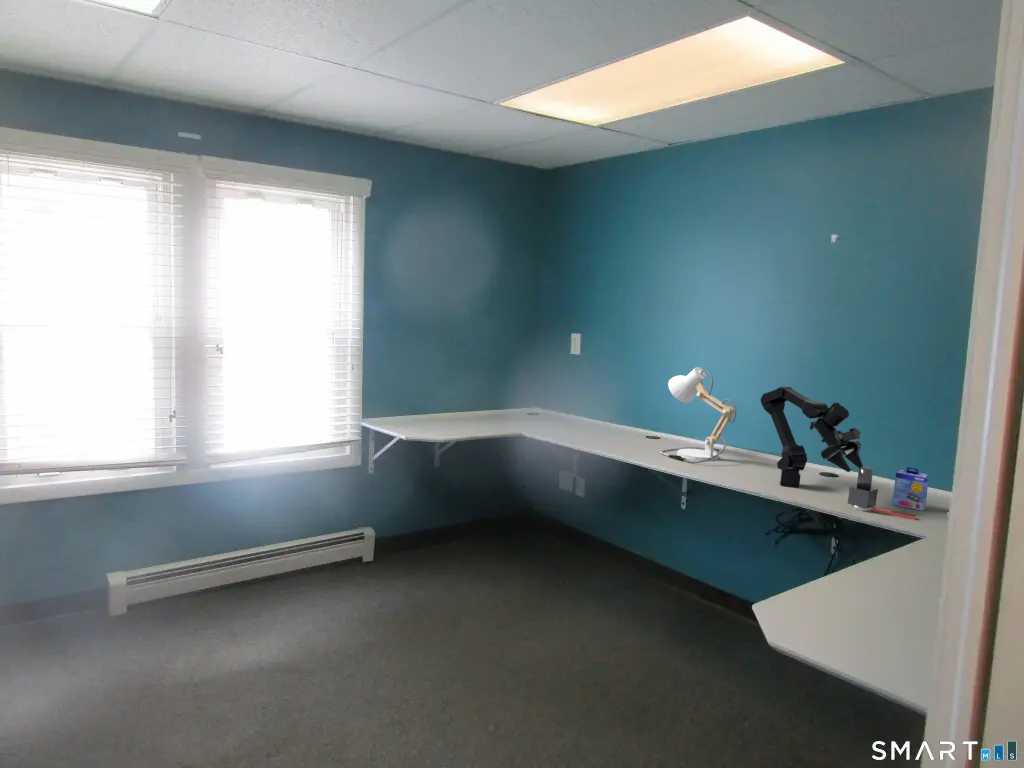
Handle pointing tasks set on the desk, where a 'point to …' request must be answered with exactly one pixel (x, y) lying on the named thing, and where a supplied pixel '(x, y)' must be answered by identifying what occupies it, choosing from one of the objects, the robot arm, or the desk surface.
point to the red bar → (887, 512)
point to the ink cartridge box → (910, 489)
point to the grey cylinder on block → (863, 490)
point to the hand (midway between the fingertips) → (856, 470)
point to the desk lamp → (686, 392)
